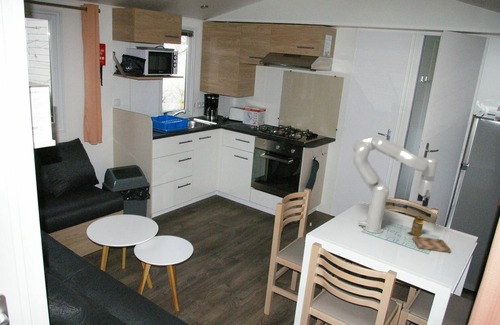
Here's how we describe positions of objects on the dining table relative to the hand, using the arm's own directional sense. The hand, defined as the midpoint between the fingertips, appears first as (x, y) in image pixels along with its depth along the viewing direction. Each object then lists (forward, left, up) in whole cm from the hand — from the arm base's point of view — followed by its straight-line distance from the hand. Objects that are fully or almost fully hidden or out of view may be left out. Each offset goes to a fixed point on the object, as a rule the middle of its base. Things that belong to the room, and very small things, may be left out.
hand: (422, 203), depth 248 cm
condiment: (0, 0, -22) cm, 22 cm away
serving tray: (+5, -15, -21) cm, 27 cm away
